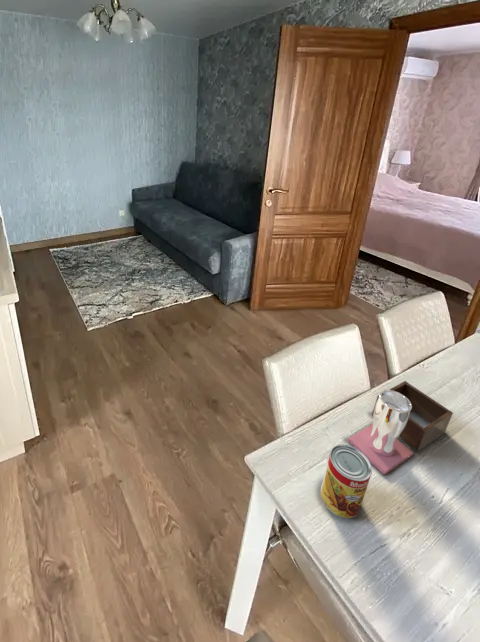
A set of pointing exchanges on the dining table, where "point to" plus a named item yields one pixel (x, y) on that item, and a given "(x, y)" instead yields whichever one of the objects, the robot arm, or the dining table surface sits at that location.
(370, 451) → the mat
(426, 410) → the brown wooden box
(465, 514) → the dining table surface
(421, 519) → the dining table surface
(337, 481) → the canned food
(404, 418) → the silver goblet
